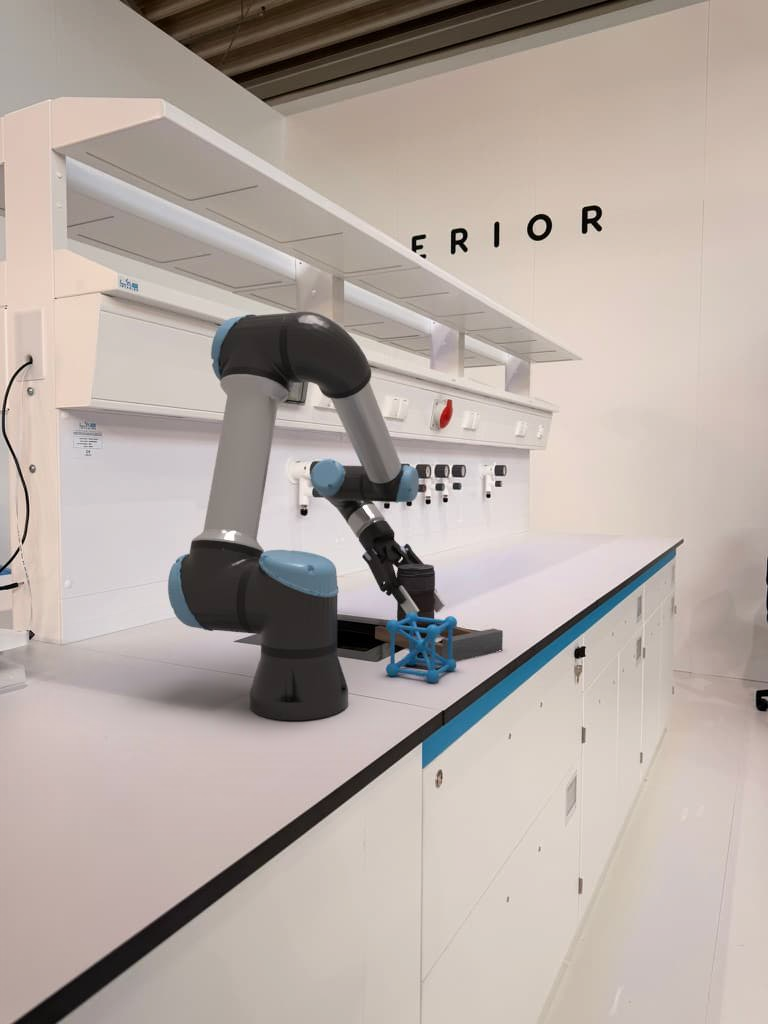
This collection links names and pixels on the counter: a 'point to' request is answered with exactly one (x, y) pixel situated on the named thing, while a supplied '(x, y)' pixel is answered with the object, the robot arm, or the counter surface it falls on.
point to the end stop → (473, 644)
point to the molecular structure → (421, 646)
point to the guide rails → (402, 641)
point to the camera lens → (418, 592)
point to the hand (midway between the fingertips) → (428, 611)
